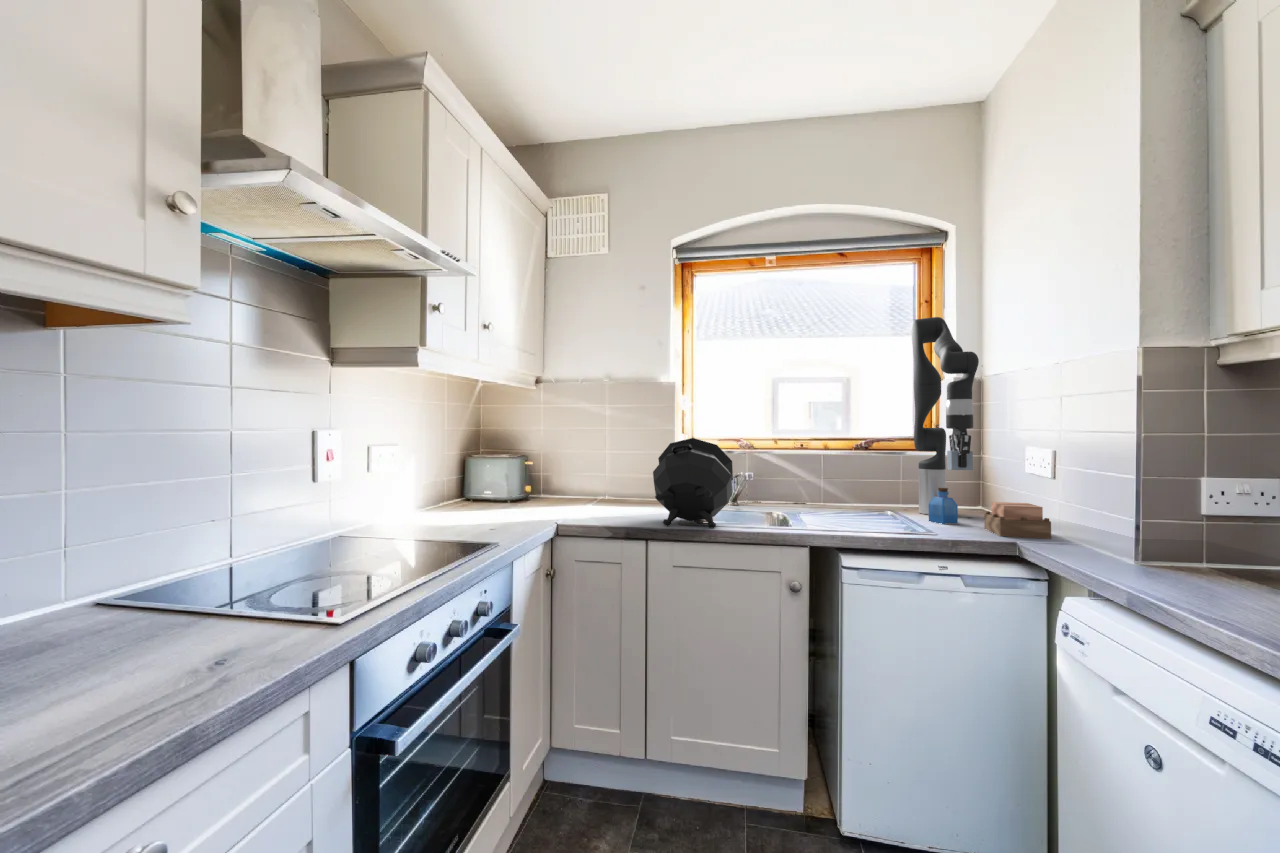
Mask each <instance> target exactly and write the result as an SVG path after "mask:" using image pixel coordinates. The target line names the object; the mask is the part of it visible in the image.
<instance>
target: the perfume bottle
mask: <svg viewBox="0 0 1280 853" xmlns="http://www.w3.org/2000/svg"><path fill="white" fill-rule="evenodd" d="M948 490H949V488H948V487H946V488H938V491H937V494H938V497H933V499H932V500H931V501H930V503H929V514H928V522H929V521H931V522H930V523H934V522H936V523H935V524H939V523H942V524H941V525H946V524H945V523H959V522H958V520H959V519H958V518H959V514H958V512H959V509H958V508H959V506H958V504H957V502H956V501H955V500H954V498H953V497H949V496H948V495H949V493H950V492H949V491H948Z"/></svg>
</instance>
